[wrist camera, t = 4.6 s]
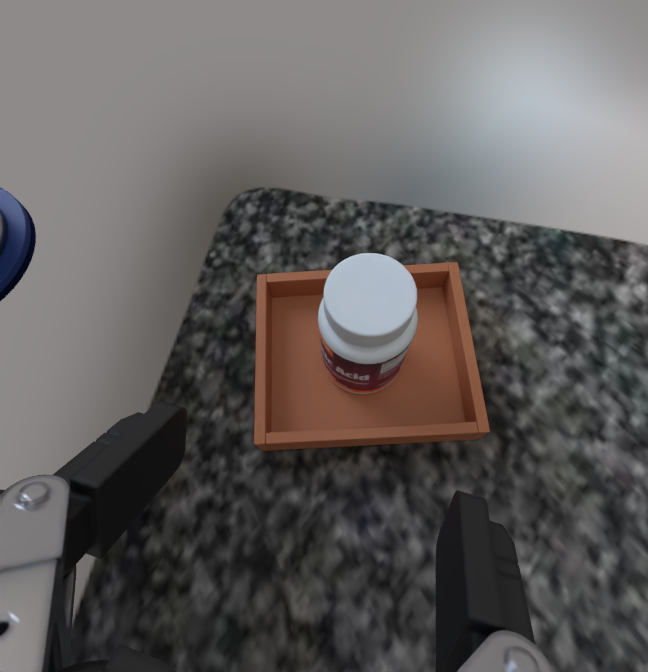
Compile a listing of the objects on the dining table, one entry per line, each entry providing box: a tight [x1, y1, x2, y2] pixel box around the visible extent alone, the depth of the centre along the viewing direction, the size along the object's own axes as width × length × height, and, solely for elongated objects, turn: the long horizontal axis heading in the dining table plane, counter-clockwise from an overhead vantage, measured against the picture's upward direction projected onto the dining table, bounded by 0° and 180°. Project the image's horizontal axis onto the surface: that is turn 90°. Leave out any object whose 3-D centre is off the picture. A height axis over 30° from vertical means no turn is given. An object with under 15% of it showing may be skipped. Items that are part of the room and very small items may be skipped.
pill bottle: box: [318, 253, 418, 394], centre depth 22 cm, size 5×5×8 cm
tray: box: [254, 262, 490, 451], centre depth 25 cm, size 12×10×2 cm
